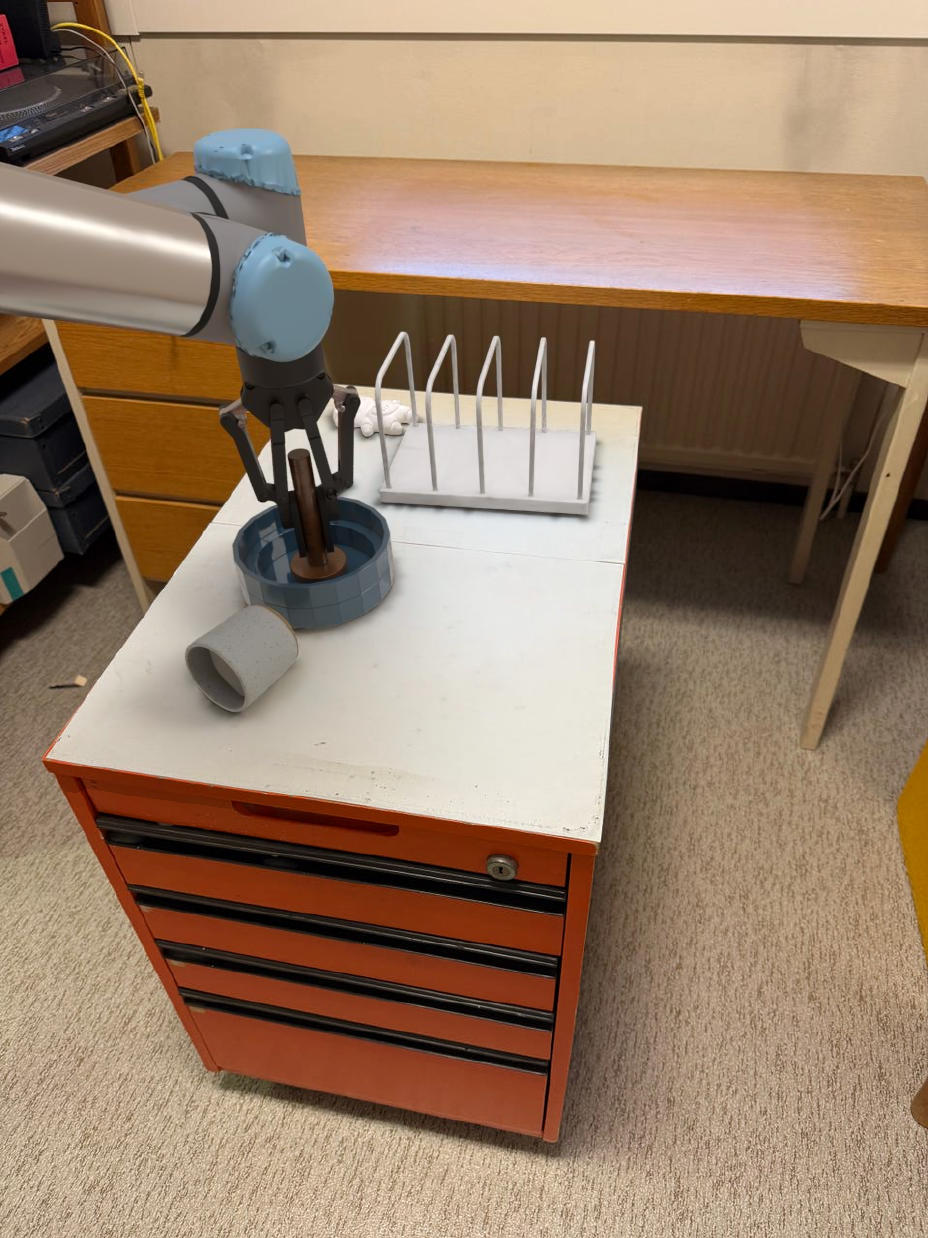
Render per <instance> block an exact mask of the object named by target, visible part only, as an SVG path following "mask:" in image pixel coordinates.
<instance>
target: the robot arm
mask: <svg viewBox="0 0 928 1238" xmlns="http://www.w3.org/2000/svg"><path fill="white" fill-rule="evenodd" d="M192 149H193V150H192V153H193V170H194V172H195V173H194V174H191V175H187V176H185V177H184V178H182V179H181V178H180V179H178V180H174V181H169V182H167V183H163V184H158V185H154V186H151V187H147V188H142V189H140V190H136V191H135V190H134V191H131V192H128V193H121V192H117V191H113V190H109V189H105V188H102V187H98V186H94V185H90V184H86V183H83V182H78V181H74V180H71V179H67V178H64V177H60V176H55V175H53V174H52V175H51V174H48V173H44V172H40V171H36V170H34V169H33V170H32V169H29V168H25V167H21V166H17V165H14V164H10V163H6V162H2V161H0V314H2V315H10V316H19V317H26V318H33V319H42V320H48V321H49V320H50V321H56V322H63V323H64V322H65V323H72V324H80V325H88V326H96V327H104V328H113V329H119V330H128V331H135V332H142V333H149V334H150V333H151V334H158V335H165V336H173V337H178V338H183V339H188V340H194V341H202V342H211V343H219V344H225V345H230V346H234V348H235V353H236V357H237V361H238V367H239V371H240V376H241V381H242V386H241V389H240V392H239V396H240V397H239V398H238V399H237V400H235V401H233V402H232V403H230V404H227V403H223V404H221V405H219V407H218V416H219V418H218V419H219V424H220V426H221V427H222V428H223V429H224V430H225V431H226V433H227V434H228V435H229V437H231V438H232V439H233V441H234V444H235V447H236V450H237V452H238V454H239V457H240V460H241V462H242V465H243V467H244V469H245V472H246V475H247V477H248V480H249V482H250V484H251V488H252V490H253V492H254V495H255V498H256V500H257V501H258V502H259V503H262V504H265V503H267V502H273V503H275V505H277V506H278V510H279V515H280V520H281V525H282V527H283V528H284V530H285V529H291V528H294V531H295V536H296V541H297V546H298V551H299V556H300V558H303V557H307V553H306V548H305V543H304V538H303V532H302V527H301V522H300V517H299V512H298V506H297V501H296V498H295V493H294V489H291V490H289V483H288V482H289V480H288V466H287V465H288V464H287V452H286V451H287V449H286V433H288V432H290V431H293V430H304V431H305V434H306V437H307V441H308V443H309V447H310V451H311V454H312V458H313V460H314V463H315V467H316V470H317V473H318V477H319V480H320V484H322V485H321V486H319V485H316V490H317V497H318V503H319V509H320V515H321V521H322V526H323V532H324V538H325V544H326V549H327V553H331V552H335V551H334V545H333V539H332V533H331V527H330V521H336V520H339V517H340V513H339V507H338V500H337V496H338V494H339V493H338V491H339V490H341V489H343V488H344V489H350V488H352V487H353V485H354V470H355V468H354V466H355V461H354V459H355V455H354V454H355V427H354V419H355V417H356V414H357V412H358V409H359V407H360V404H361V401H360V398H359V395H360V394H359V392H358V389H357V387H356V386H354V385H351V384H350V385H349V384H348V385H347V386H345V387H344V386H341V385H338V384H336V383H335V384H334V382H333V380H332V378H331V377H330V375H329V374H328V372H327V370H326V364H325V357H324V351H323V349H324V348H323V343H322V340H323V338H324V337H325V334H326V333H327V331H328V329H329V327H330V323H331V318H332V315H333V308H334V303H335V292H334V284H333V281H332V277H331V274H330V272H329V269H328V268H327V266H326V264H325V263H324V261H323V260H322V258H321V257H320V256H319V255H318V254H317V252H315V251H313V250H312V249H311V248H310V247H308V244H307V243H308V242H307V234H306V227H305V221H304V215H303V214H304V213H303V212H304V211H303V205H302V198H301V197H302V190H301V188H300V186H299V179H298V174H297V169H296V165H295V160H294V157H293V154H292V149H291V146H290V144H289V142H288V140H287V139H286V138H285V137H284V136H283V135H281V134H280V133H278V132H276V131H273V130H270V129H265V128H253V127H252V128H251V127H249V128H233V129H232V128H231V129H224V130H219V131H216V132H211V133H209V134H207V135H206V136H204V137H201V138H198V139H197V140H196V142H195V143H194V146H193V148H192ZM331 399H332V400H333V405H334V408H336V410H338V427H337V470H336V471H335V472H333V473H332V470H331V467H330V464H329V460H328V457H327V456H328V455H327V453H326V450H325V446H324V442H323V439H322V435H321V432H320V429H319V425H318V421H319V420H320V418H321V417H322V415H323V413H324V411H325V410H326V408H327V406H328V405H329V402H330V401H331ZM247 412H249V413H250V414H251V415H252V416H253V417H255V418H256V420H258V421H259V422H260V423H261V424H263V425H264V426H265V427H266V428H268V430H269V438H270V439H269V440H270V447H271V448H270V451H271V463H272V464H271V465H272V476H273V483H272V482H267V480H266V476H265V474H264V472H263V471H264V470H263V469H262V466H261V462H260V461H259V457H258V455H257V453H256V450H255V448H254V446H253V443H252V440H251V437H250V434H249V432H248V429H247V426H246V425H247V424H248V419H247V414H246V413H247ZM344 489H343V490H344ZM341 491H342V490H341Z"/></svg>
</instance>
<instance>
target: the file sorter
mask: <svg viewBox="0 0 928 1238" xmlns="http://www.w3.org/2000/svg"><path fill="white" fill-rule="evenodd" d="M402 341H404V349H405V357H406V366H407V377H408V386H409V387H408V388H409V396H410V405H411V407H410V408H411V409H412V417H413V423H410V424H409V423H408V425H407V428H406V430H405V433H404V435H403V437H402V439H401V442H400V444H399V446H398V448H397V450H396V453H395V455H394V457H393V459H392V462H391V464H389V457H388V450H387V441H386V434H385V432H384V424H383V416H382V407H381V401H382V398H381V397H382V395H381V393H382V391H381V390H382V382H383V378H384V376H385V375H386V372H387V370H388V369H389V366H390V365H391V363H392V361H393V359H394V356H395V355H396V353H397V351H398V349H399V347H400V346H401V344H402ZM456 342H457V341H456V338H455V335H454V334H448V335H447V336H446V338H445V340H444V343H443V344H442V347H441V349H440V352H439V354H438V356H437V359H436V360H435V362H434V366H433V368H432V370H431V372H430V374H429V376H428V379H427V382H426V383H427V384H426V389H425V402H424V403H425V419H426V422H424V423H423V422H417V414H418V413H417V403H416V402H417V401H416V393H415V381H414V371H413V362H412V361H413V360H412V352H411V343H410V337H409V334H408V332H406V331H400V332H399V333H398V335H397V337H396V339H395V341H394V343H393V344H392V347H391V348H390V350H389V352H388V354H387V356H386V357H385V359H384V361H383V363H382V365H381V367H380V368H379V370H378V373H377V375H376V379H375V387H374V400H375V403H376V412H377V420H378V428H379V432H378V435H379V442H380V443H379V444H380V450H381V458H382V465H383V472H384V473H383V474H384V475H383V476H384V479H383V481H382V482H381V486H380V488H379V490H378V491H379V498H380V499H379V500H380V502H381V503H393V504H409V505H410V504H411V505H426V506H427V505H428V506H429V505H430V506H443V507H460V508H476V509H492V510H493V509H494V510H507V511H523V512H524V511H525V512H539V513H541V512H542V513H556V514H572V515H588V514H589V509H590V508H589V507H590V500H591V491H592V483H593V471H594V465H595V455H596V447H597V431H596V430H592V413H593V398H594V397H593V393H594V375H595V357H596V356H595V355H596V353H595V352H596V342H595V340H590V341H589V342H588V343H589V344H588V349H587V356H586V362H585V369H584V375H583V381H582V388H581V389H582V390H581V400H580V401H581V402H580V403H581V404H580V420H579V421H580V422H579V423H580V425H579V429H558V428H557V429H554V428H547V371H548V370H547V369H548V368H547V367H548V365H547V363H548V361H547V359H548V358H547V355H548V354H547V353H548V351H547V347H548V345H547V344H548V343H547V338H546V337H541V338H540V341H539V347H538V352H537V358H536V364H535V369H534V373H533V374H534V375H533V380H532V388H531V396H530V397H531V399H530V423H529V424H530V425H529V427H512V426H511V427H510V426H504V422H503V420H504V419H503V416H504V415H503V379H502V374H503V373H502V346H501V345H502V344H501V339H500V336H499V335H494V336H493V337H492V340H491V343H490V345H489V349H488V352H487V355H486V357H485V361H484V363H483V366H482V370H481V373H480V375H479V378H478V382H477V388H476V397H475V416H476V417H475V418H476V425H470V424H469V425H467V424H461V417H460V416H461V415H460V399H459V397H460V396H459V395H460V394H459V378H458V377H459V376H458V375H459V374H458V357H457V355H458V353H457V343H456ZM449 347H450V349H451V366H452V367H451V368H452V382H453V400H454V401H453V403H454V422H455V424H448V423H433V417H432V415H433V413H432V391H433V386H434V383H435V379H436V377H437V375H438V373H439V371H440V368H441V366H442V364H443V361H444V358H445V356H446V354H447V352H448V350H449ZM494 353H495V362H496V363H495V364H496V388H497V389H496V391H497V423H498V424H497V425H498V426H493V425H490V426H489V425H483V416H482V415H483V414H482V413H483V412H482V411H483V410H482V409H483V407H482V399H483V389H484V386H485V385H484V384H485V380H486V378H487V375H488V372H489V368H490V365H491V362H492V360H493V356H494ZM540 374H541V428H536V424H537V422H536V421H537V401H538V400H537V398H538V387H539V380H540Z"/></svg>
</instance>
